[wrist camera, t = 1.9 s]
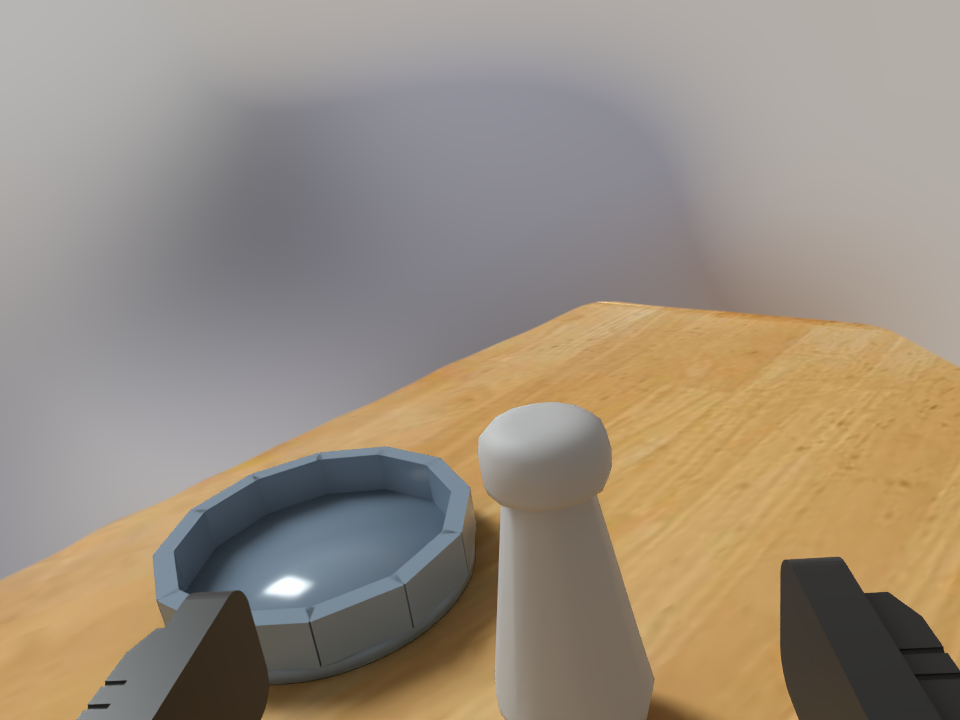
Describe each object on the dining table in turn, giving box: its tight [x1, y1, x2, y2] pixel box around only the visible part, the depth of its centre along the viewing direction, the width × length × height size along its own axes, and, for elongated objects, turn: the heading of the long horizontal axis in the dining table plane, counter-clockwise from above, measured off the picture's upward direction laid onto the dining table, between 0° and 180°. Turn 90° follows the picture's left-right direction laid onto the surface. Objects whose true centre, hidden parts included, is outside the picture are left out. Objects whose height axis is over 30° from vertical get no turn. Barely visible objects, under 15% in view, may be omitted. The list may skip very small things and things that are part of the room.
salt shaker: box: [478, 402, 654, 720], centre depth 26 cm, size 6×6×13 cm
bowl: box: [153, 447, 477, 685], centre depth 40 cm, size 16×16×3 cm
